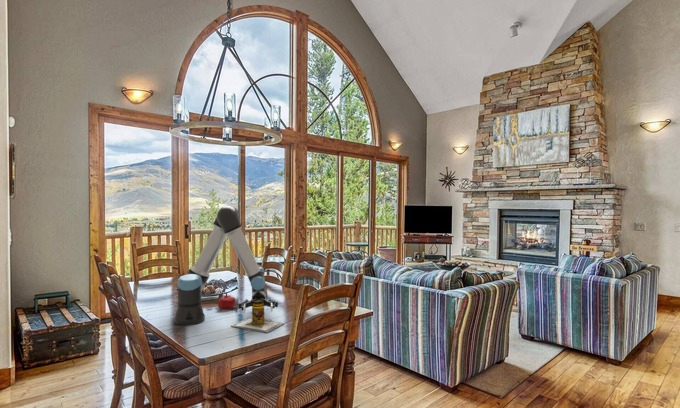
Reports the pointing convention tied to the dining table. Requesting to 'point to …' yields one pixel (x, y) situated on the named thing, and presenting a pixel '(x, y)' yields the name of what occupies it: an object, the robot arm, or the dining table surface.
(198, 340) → the dining table surface
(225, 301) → the pomegranate
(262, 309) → the condiment
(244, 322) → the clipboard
